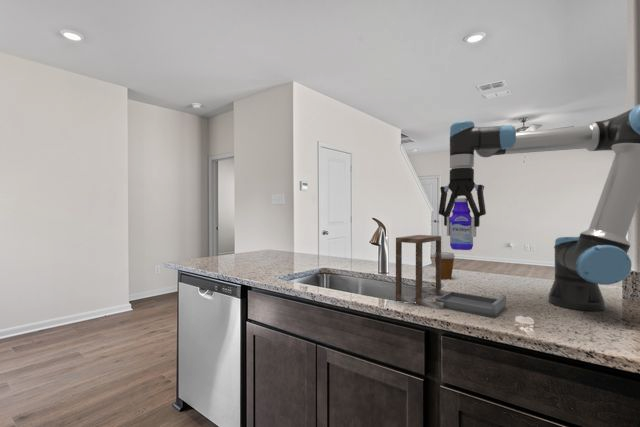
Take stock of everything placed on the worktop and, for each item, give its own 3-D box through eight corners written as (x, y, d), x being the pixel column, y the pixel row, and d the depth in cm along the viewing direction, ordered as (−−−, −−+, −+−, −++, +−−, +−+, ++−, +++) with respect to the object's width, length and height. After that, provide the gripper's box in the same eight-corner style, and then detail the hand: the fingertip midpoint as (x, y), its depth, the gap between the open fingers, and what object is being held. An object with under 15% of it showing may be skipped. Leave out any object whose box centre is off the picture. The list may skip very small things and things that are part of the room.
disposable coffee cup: (456, 280, 149) (457, 254, 149) (435, 279, 151) (435, 254, 151) (452, 276, 158) (452, 252, 158) (432, 276, 160) (432, 251, 160)
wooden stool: (461, 298, 119) (461, 237, 119) (441, 309, 105) (442, 240, 104) (418, 290, 130) (418, 234, 130) (395, 300, 115) (395, 237, 115)
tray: (506, 307, 107) (506, 295, 107) (495, 318, 96) (495, 304, 96) (450, 298, 119) (450, 287, 119) (435, 306, 108) (435, 294, 108)
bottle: (449, 250, 108) (449, 198, 108) (449, 248, 114) (449, 198, 114) (473, 251, 106) (473, 197, 106) (472, 249, 111) (472, 198, 111)
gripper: (497, 167, 106) (497, 237, 106) (436, 171, 119) (436, 234, 119) (491, 164, 100) (491, 238, 100) (428, 169, 113) (427, 235, 113)
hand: (461, 236), depth 110 cm, fingers closed on bottle, 7 cm apart
